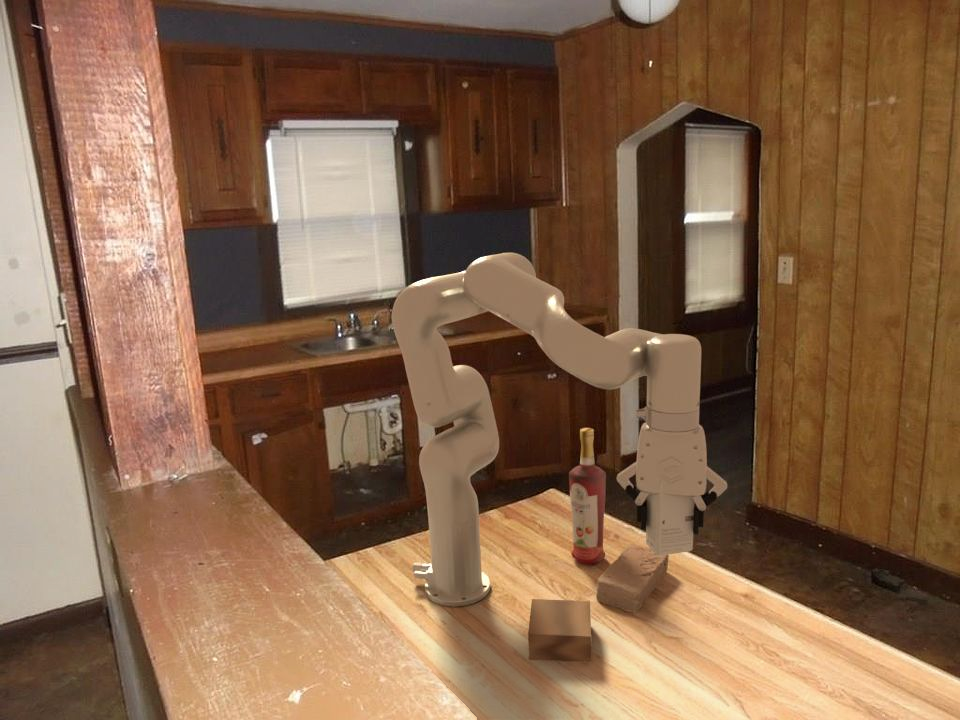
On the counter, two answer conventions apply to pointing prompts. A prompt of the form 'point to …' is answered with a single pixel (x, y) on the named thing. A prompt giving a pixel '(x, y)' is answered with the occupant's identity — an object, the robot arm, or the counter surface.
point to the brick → (631, 578)
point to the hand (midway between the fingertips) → (669, 527)
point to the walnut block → (560, 630)
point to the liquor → (587, 504)
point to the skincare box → (669, 523)
